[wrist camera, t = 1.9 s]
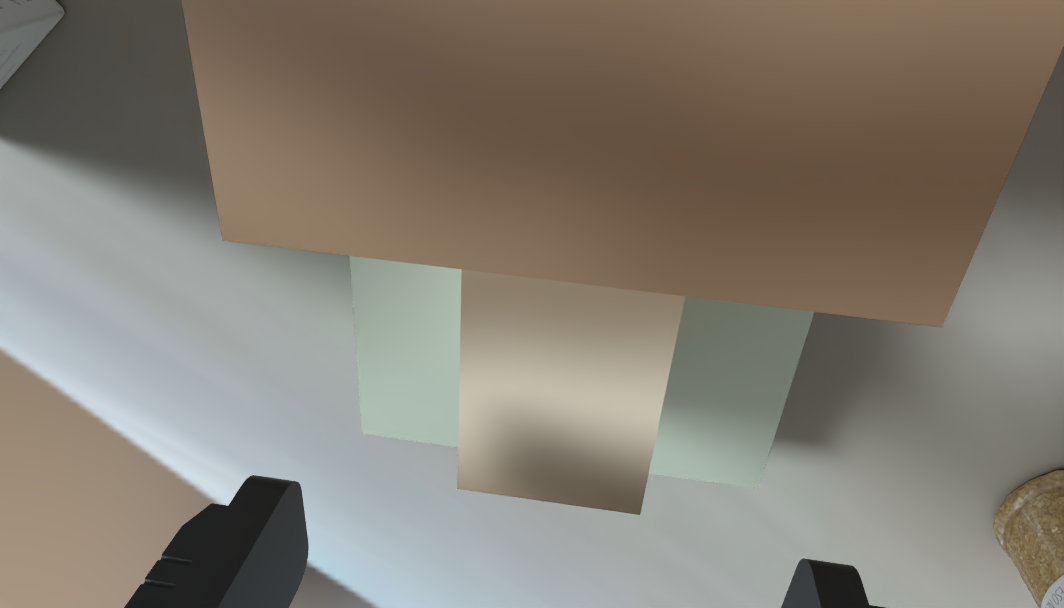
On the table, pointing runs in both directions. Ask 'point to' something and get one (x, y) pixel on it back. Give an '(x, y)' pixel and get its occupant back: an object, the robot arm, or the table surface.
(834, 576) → the robot arm
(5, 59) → the skincare box
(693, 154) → the tunnel deck
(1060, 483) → the sprinkles bottle
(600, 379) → the birch block
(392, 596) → the table surface
